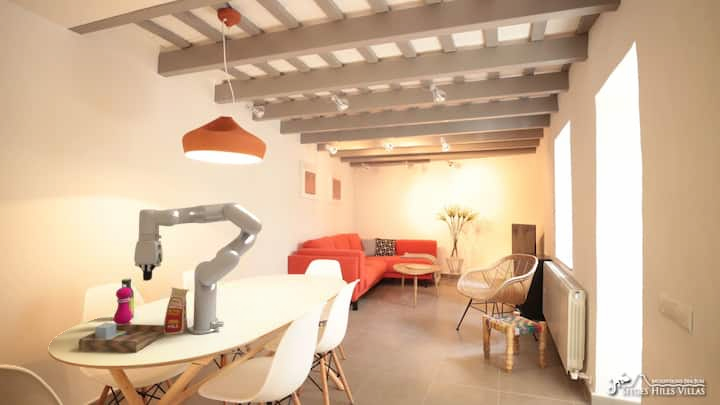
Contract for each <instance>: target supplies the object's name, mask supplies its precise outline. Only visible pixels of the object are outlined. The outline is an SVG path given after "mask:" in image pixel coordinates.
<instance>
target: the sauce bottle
mask: <svg viewBox="0 0 720 405" xmlns="http://www.w3.org/2000/svg"><path fill="white" fill-rule="evenodd" d="M124 284H125V285H126V288H129V289H130V290H131V295H130V296H129V297H130V301H129V308H130V311H131V313H132V319H133V318H134V317H135V296H134V294H135V292H134V290H133V288H132V278H123V279H121V286H122V285H124Z"/></svg>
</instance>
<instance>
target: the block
mask: <svg viewBox="0 0 720 405" xmlns="http://www.w3.org/2000/svg"><path fill="white" fill-rule="evenodd" d="M94 332H95V339H109V338H111V337H114V336H116V323H115V322H114V323H111V322H110V323H109V322H105V323H102V324H99V325H96V326H94Z"/></svg>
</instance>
